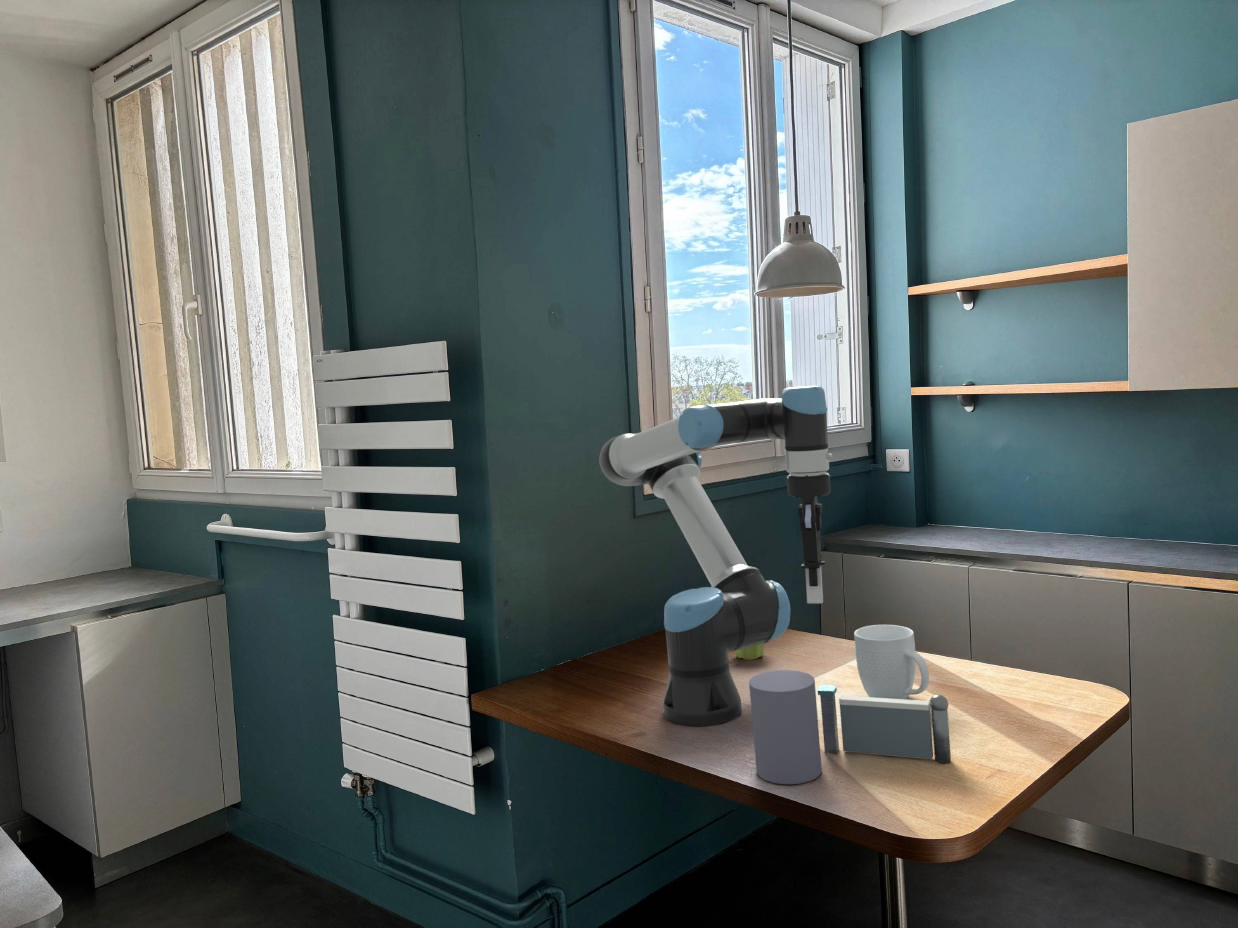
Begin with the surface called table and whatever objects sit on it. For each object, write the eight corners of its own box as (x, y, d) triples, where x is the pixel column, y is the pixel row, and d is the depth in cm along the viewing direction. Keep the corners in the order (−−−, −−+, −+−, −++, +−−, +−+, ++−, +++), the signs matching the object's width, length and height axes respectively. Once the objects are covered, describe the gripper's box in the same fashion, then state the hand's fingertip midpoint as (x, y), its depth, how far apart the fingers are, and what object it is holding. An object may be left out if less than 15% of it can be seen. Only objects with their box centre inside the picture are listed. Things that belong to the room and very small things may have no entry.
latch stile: (822, 753, 144) (817, 690, 144) (825, 747, 147) (820, 685, 146) (838, 754, 143) (833, 691, 142) (841, 748, 146) (836, 685, 145)
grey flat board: (933, 754, 139) (929, 700, 138) (932, 759, 137) (928, 704, 137) (845, 746, 145) (841, 695, 144) (843, 751, 143) (839, 699, 143)
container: (750, 783, 136) (742, 690, 135) (763, 756, 145) (756, 669, 144) (817, 788, 132) (809, 692, 131) (825, 760, 142) (819, 670, 141)
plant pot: (773, 660, 197) (770, 622, 196) (732, 663, 197) (729, 626, 196) (766, 648, 206) (764, 612, 205) (727, 652, 206) (724, 616, 205)
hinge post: (932, 763, 137) (928, 697, 136) (934, 756, 139) (929, 691, 139) (951, 764, 136) (947, 698, 135) (952, 757, 138) (948, 692, 137)
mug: (948, 702, 162) (943, 633, 161) (910, 718, 156) (905, 647, 155) (884, 684, 174) (879, 621, 173) (846, 699, 168) (841, 633, 167)
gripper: (827, 476, 147) (834, 612, 149) (831, 467, 159) (838, 592, 162) (783, 478, 149) (790, 612, 151) (790, 469, 161) (797, 592, 164)
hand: (815, 602), depth 156 cm, fingers closed
